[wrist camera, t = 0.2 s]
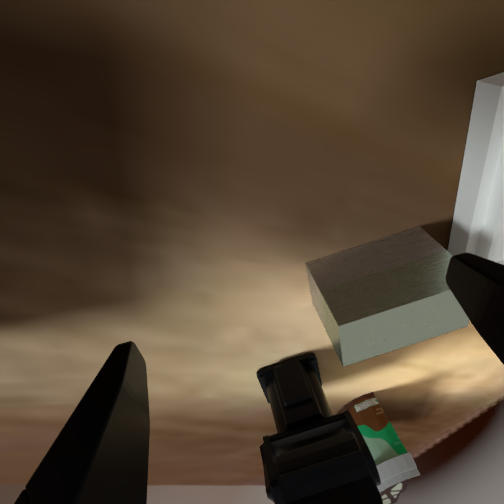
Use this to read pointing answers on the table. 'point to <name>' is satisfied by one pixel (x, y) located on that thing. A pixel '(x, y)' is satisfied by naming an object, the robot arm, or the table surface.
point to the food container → (383, 446)
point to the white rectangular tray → (482, 177)
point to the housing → (384, 295)
